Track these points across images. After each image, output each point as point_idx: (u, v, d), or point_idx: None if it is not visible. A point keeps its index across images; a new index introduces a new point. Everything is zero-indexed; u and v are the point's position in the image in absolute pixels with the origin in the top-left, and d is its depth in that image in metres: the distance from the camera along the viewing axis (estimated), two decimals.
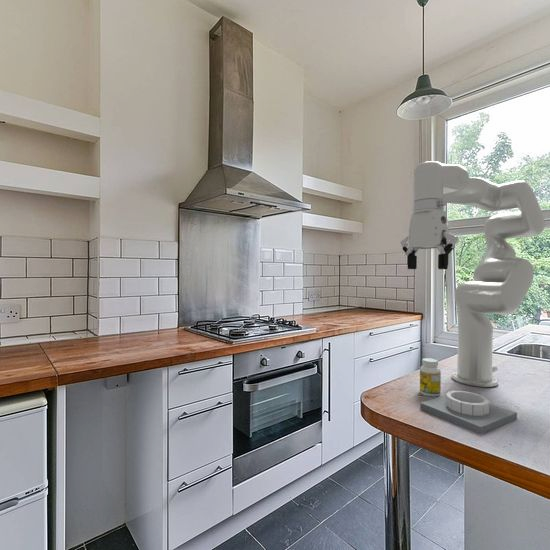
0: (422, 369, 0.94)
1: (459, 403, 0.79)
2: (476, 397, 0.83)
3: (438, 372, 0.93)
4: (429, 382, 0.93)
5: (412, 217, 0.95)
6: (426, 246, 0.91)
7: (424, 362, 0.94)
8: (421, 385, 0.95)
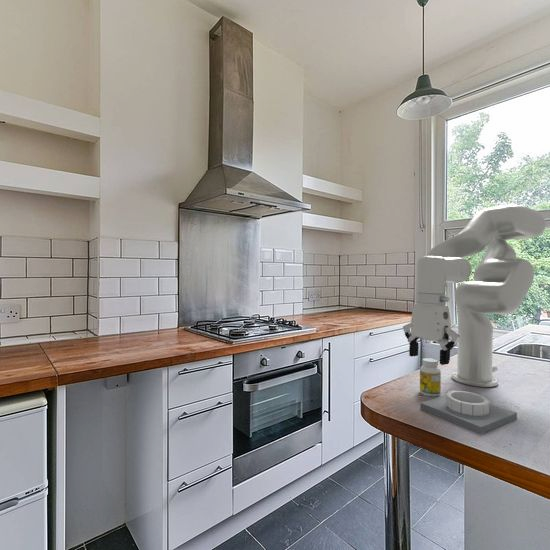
0: (422, 369, 0.94)
1: (459, 403, 0.79)
2: (476, 397, 0.83)
3: (438, 372, 0.93)
4: (429, 382, 0.93)
5: (415, 307, 0.96)
6: (428, 339, 0.93)
7: (424, 362, 0.94)
8: (421, 385, 0.95)
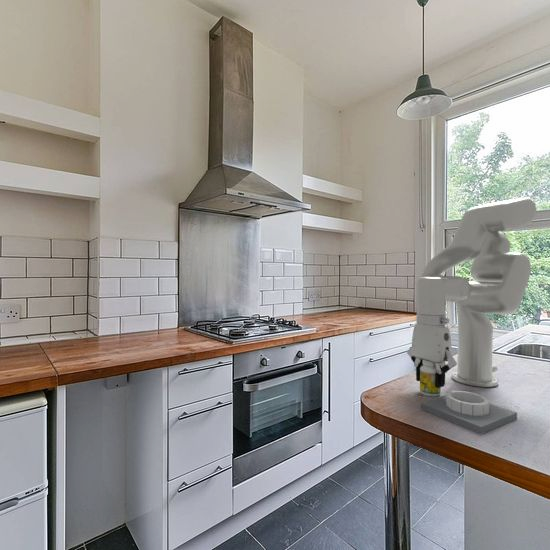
0: (422, 369, 0.94)
1: (459, 403, 0.79)
2: (476, 397, 0.83)
3: None
4: (429, 382, 0.93)
5: (415, 327, 0.97)
6: (429, 360, 0.93)
7: (424, 362, 0.94)
8: (421, 385, 0.95)
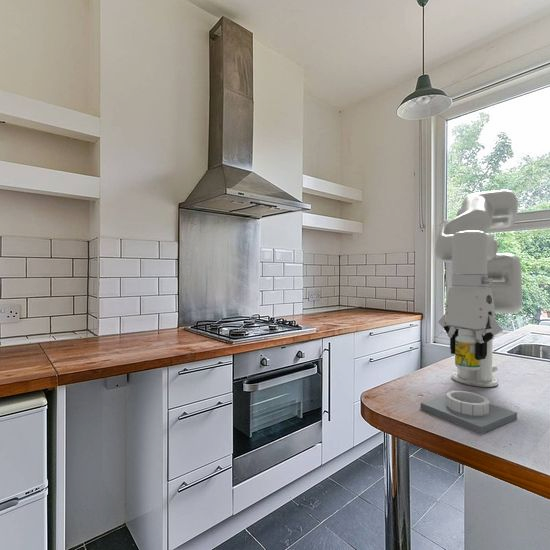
0: (459, 339, 0.81)
1: (459, 403, 0.79)
2: (476, 397, 0.83)
3: None
4: (468, 353, 0.79)
5: (450, 291, 0.83)
6: (468, 327, 0.79)
7: (461, 331, 0.81)
8: (457, 358, 0.81)
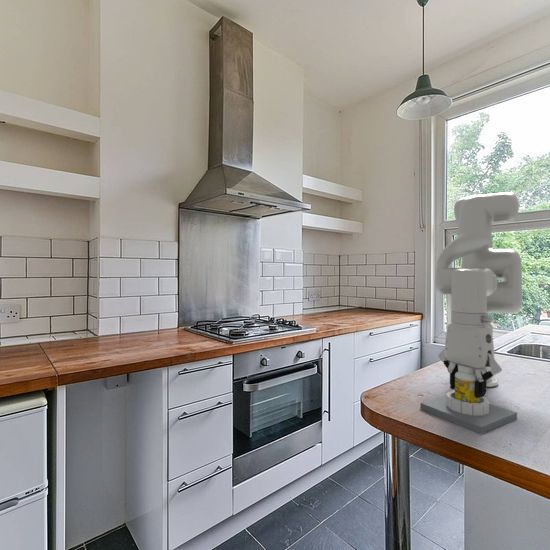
0: (458, 376, 0.81)
1: (459, 403, 0.79)
2: None
3: None
4: (467, 391, 0.80)
5: (449, 327, 0.83)
6: (467, 365, 0.80)
7: (460, 368, 0.81)
8: (457, 395, 0.81)
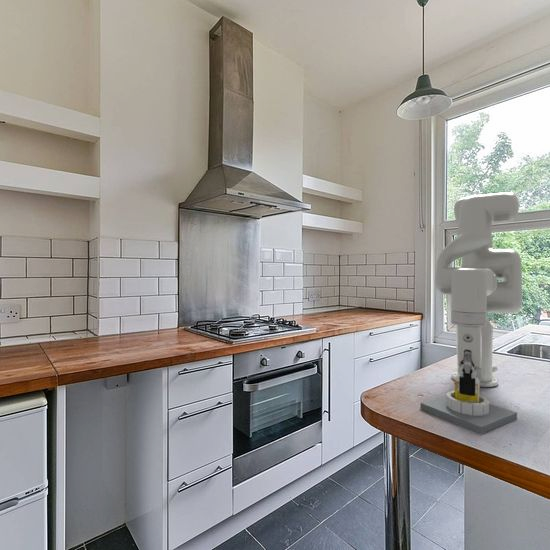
0: (456, 376, 0.84)
1: (459, 403, 0.79)
2: None
3: None
4: (456, 391, 0.82)
5: None
6: None
7: None
8: None
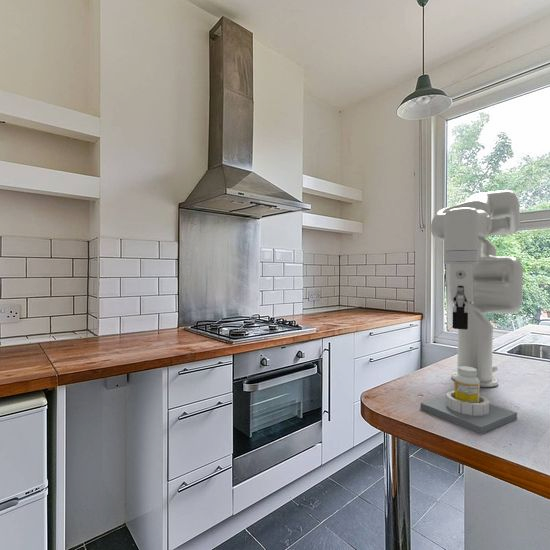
0: (456, 376, 0.84)
1: (459, 403, 0.79)
2: None
3: (466, 383, 0.80)
4: (456, 391, 0.82)
5: None
6: None
7: None
8: None
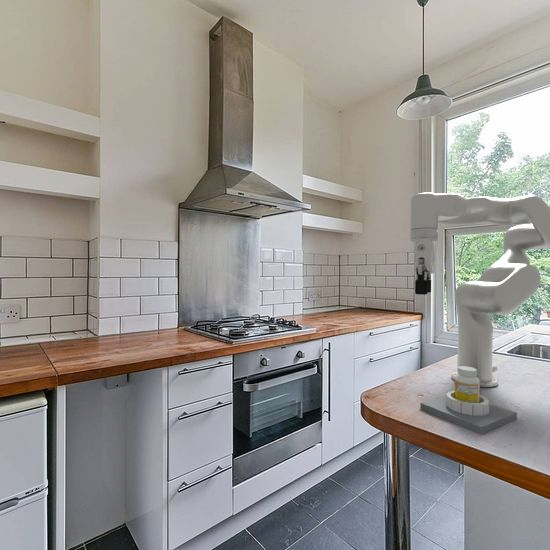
0: (456, 376, 0.84)
1: (459, 403, 0.79)
2: None
3: (466, 383, 0.80)
4: (456, 391, 0.82)
5: None
6: None
7: None
8: None
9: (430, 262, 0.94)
